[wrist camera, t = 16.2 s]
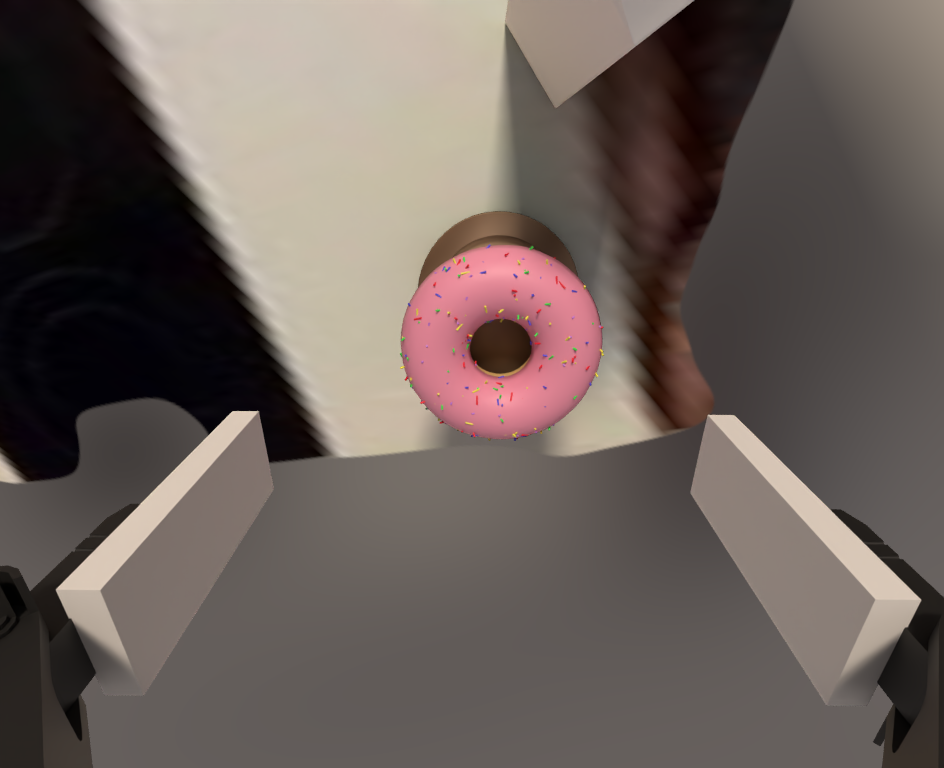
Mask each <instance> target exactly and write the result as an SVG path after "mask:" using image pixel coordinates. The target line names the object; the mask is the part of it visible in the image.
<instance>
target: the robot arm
mask: <svg viewBox="0 0 944 768" xmlns="http://www.w3.org/2000/svg"><path fill="white" fill-rule="evenodd" d="M273 489H274V488H273V482H272V478H271V472H270V467H269V462H268V457H267V452H266V446H265V441H264V436H263V431H262V426H261V421H260V416H259V411H232V412H231V413H230V414H229V415H228V416H227V417H226V418H225V419H224V420H223V422H222V423H221V424H220V425H219V426H218V427H217V428H216V429H215V430H214V431H213V432H212V433H211V434H210V435H209V436H208V437H207V438H206V439H205V440H204V441H203V442H202V443H201V444H200V445H199V446H198V447H197V448H196V449H195V450H194V451H193V452H192V453H191V454H190V455H189V456H188V457H187V458H186V459H185V460H184V461H183V462H182V463H181V464H180V465H179V466H178V467H177V468H176V469H175V470H174V471H173V472H172V473H171V474H170V475H169V476H168V477H167V478H166V479H165V480H164V481H163V482H162V483H161V484H160V485H159V486H158V487H157V488H156V489H155V490H154V491H153V492H152V493H151V494H150V495H149V496H148V497H147V498H146V499H145V500H144V501H143V502H142V503H141V504H130V505H128V506H126V507H124V508H123V509H121V510H119V511H118V512H116V513H115V514H113V515H111V516H110V517H108V518H107V519H105V520H104V521H103V522H102V523H101V524H100V525H99V526H98V527H97V528H96V529H95V530H94V531H93V532H92V533H91V534H90V537H89V538H86V539H85V540H83V541H82V542H81V543H80V544H79V545H78V546H77V547H76V550H75V552H71V553H70V554H69V555H68V556H67V557H66V558H65V559H64V560H63V561H62V562H60V563H59V564H58V565H57V566H56V567H55V568H54V569H53V570H52V571H51V572H50V573H49V574H48V575H47V576H46V577H45V578H44V579H43V580H42V581H41V582H40V583H38V584H37V585H36V586H35V587H34V588H33V589H32V590H31V591H29V589H28V587H27V585H26V583H25V581H24V579H23V577H22V575H21V573H20V571H19V569H17V568H14V567H11V566H0V768H93V766H92V757H91V748H90V738H89V729H88V720H87V711H86V705H85V703H84V701H83V699H82V697H81V695H80V694H81V693H82V691H83V690H84V689H85V687H86V686H87V685H88V683H89V682H90V681H91V680H92V678H93V677H94V676H96V678H97V680H98V682H99V685H100V687H101V689H102V691H103V693H104V695H122V696H123V695H125V696H126V695H127V696H130V695H131V696H144V695H145V693H146V691H147V690H148V688H149V686H150V685H151V683H152V682H153V680H154V679H155V677H156V675H157V674H158V672H159V671H160V669H161V667H162V666H163V664H164V663H165V661H166V660H167V658H168V656H169V655H170V653H171V651H172V650H173V648H174V647H175V645H176V644H177V642H178V640H179V639H180V637H181V636H182V634H183V632H184V631H185V629H186V628H187V626H188V625H189V623H190V621H191V620H192V618H193V616H194V615H195V613H196V612H197V610H198V609H199V607H200V605H201V604H202V602H203V601H204V599H205V598H206V596H207V594H208V593H209V591H210V590H211V588H212V586H213V585H214V583H215V582H216V580H217V578H218V577H219V575H220V574H221V572H222V571H223V569H224V567H225V566H226V564H227V563H228V561H229V559H230V558H231V556H232V554H233V553H234V551H235V550H236V548H237V547H238V545H239V543H240V542H241V540H242V539H243V537H244V536H245V534H246V532H247V531H248V529H249V528H250V526H251V524H252V523H253V521H254V520H255V518H256V516H257V515H258V513H259V512H260V510H261V509H262V507H263V505H264V504H265V502H266V501H267V499H268V497H269V496H270V494H271V493H272V491H273ZM690 493H691V495H692V496H693V498H694V499H695V501H696V503H697V504H698V506H699V507H700V509H701V510H702V512H703V513H704V515H705V517H706V518H707V520H708V521H709V523H710V524H711V526H712V528H713V529H714V531H715V532H716V533H717V535H718V537H719V538H720V540H721V541H722V543H723V545H724V546H725V548H726V549H727V551H728V552H729V554H730V556H731V557H732V559H733V560H734V562H735V563H736V565H737V566H738V568H739V570H740V571H741V573H742V574H743V576H744V577H745V579H746V581H747V582H748V584H749V585H750V587H751V588H752V590H753V591H754V593H755V594H756V596H757V598H758V599H759V601H760V602H761V604H762V605H763V607H764V608H765V610H766V612H767V613H768V615H769V616H770V618H771V619H772V621H773V623H774V624H775V626H776V627H777V629H778V630H779V632H780V633H781V635H782V637H783V638H784V640H785V641H786V643H787V644H788V646H789V648H790V649H791V650H792V652H793V654H794V655H795V657H796V658H797V660H798V661H799V663H800V665H801V666H802V668H803V669H804V671H805V672H806V674H807V676H808V677H809V678H810V680H811V682H812V683H813V685H814V686H815V688H816V690H817V691H818V693H819V694H820V696H821V697H822V699H823V700H824V702H825V704H826V705H830V706H834V705H835V706H867V705H868V703H869V701H870V699H871V697H872V696H873V693H874V692H875V690H876V688H877V686H878V684H879V685H880V687H881V688H882V689H883V691H884V692H885V693H886V694H887V696H888V697H889V698H890V700H891V701H892V702H893V706H892V708H891V710H890V711H889V713H888V715H887V717H886V719H885V721H884V722H883V724H882V726H881V728H880V730H879V732H878V733H877V735H876V737H875V739H874V741H873V742H874V743H875V744H877V745H879V746H881V744H882V743H883V741H884V739H885V743H884V753H883V763H882V768H944V597H943V596H941V595H940V594H939V593H938V592H937V591H936V590H935V589H934V588H933V587H932V586H931V585H930V584H929V583H927V582H926V581H925V580H924V579H923V578H922V577H921V576H920V575H919V574H918V573H917V572H916V571H915V570H914V569H912V567H911V566H909V565H908V564H907V563H906V562H905V561H904V560H903V559H899V556H898V554H897V553H895V552H894V551H893V550H892V549H891V548H890V547H889V546H888V545H884V543H883V540H882V539H881V538H879V537H878V536H877V535H876V534H875V533H874V532H873V531H872V530H871V529H870V528H869V527H868V526H867V525H865V524H863V523H862V522H860V521H859V520H857V519H855V518H854V517H852V516H851V515H849V514H847V513H846V512H844V511H842V510H837V509H829V508H828V507H827V506H826V505H825V504H824V503H823V502H822V501H821V500H820V499H819V498H818V497H817V496H815V495H814V493H812V492H811V491H810V490H809V489H808V488H807V487H806V486H805V485H804V484H803V483H802V482H801V481H800V480H799V479H798V478H797V477H796V476H795V475H794V474H793V473H792V472H791V471H790V470H789V469H788V468H787V467H786V466H785V465H784V464H783V463H782V462H781V461H780V460H779V459H778V458H777V457H776V456H775V455H774V454H773V453H772V452H771V451H770V450H769V449H768V448H767V447H766V446H765V445H764V444H763V443H762V442H761V441H760V440H759V439H758V438H757V437H756V436H755V435H753V433H752V432H751V431H750V430H748V428H747V427H746V426H744V424H742V423H741V422H740V420H738V419H737V418H736V417H735V416H734V415H708V416H707V421H706V425H705V430H704V434H703V439H702V443H701V448H700V452H699V457H698V461H697V466H696V470H695V474H694V479H693V483H692V488H691V492H690Z"/></svg>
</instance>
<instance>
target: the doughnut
mask: <svg viewBox="0 0 944 768" xmlns="http://www.w3.org/2000/svg"><path fill="white" fill-rule="evenodd" d="M533 248H534V247H533V246H532V247H531V248H528V247H523V246H515V245H494V246H491V245H490V244H489V245H488V246H485V247H480V248H475V249H472V250H469V251H466V252H463V253H461V254H459V255H457V256H455V257H453V258H451V259H450V260H448V261H446V262H445V263H443V264H441V265H440V266H439V267H437V268H436V269H435V270H434V271H433V272H432V273H431V274H429V276H428V277H427V278H426V279H425V280H424V281H423V282H422V284H421V285H420V286H419V287H418V289H417V290H416V292H415V294H414V295H413V297H412V299H411V301H410V303H408V307H407V310H406V313H405V316H404V320H403V325H402V331H401V350H402V353H400V355H401V356H402V358H403V364H404V366H402V367H400V368H401V369H402V368H405V371H406V374H407V377H406V379H405V380H407V379H409V382H410V385H411V386H410V387H412V389H414V391H415V392H416V394H417V395H418V396H419V398H420V399H421V402H420V403H421V404H422V403H423V404H425V405H426V407H427V408H426V410H427V409H429V410H430V411H431V412H432V413H433V414H434V415H436V416H437V417H438V418H439V419H438V421H439V420H442V422H440V424H441V423H444V422H445V424H448V425H449V426H451V427H453V428H455V429H457V431H461V432H464V433H467V434H470V435H471V437H473V436H474V437H476V436H478V437H484V438H488V440H489V441H490V439H511V438H515V439H514V441H516V439H518V437H526V436H528V435H530V434H533V433H537V432H539V431H540V434H542V430H544V429H546V428H548V427H549V428H548V430H550V427H551V426H552V425H553V426H554V424H555V423H557V422H558V421H560V420H561V419H562V418H563V417H565V416H566V415H567V414H568V413H569V412H570V411H571V410H573V409H574V407H575V406H576V405H577V404H578V403H579V402H580V401H581V400H582V398H583V397H584V395H585V394H586V392H587V390H588V388H589V386H591V382H592V380H593V378H594V376H595V375H596V377H598V375H597V373H596V372H597V369H598V366H599V362H600V357H601V355H602V356H604V354H603V351H602V328H603V327H601V323H600V319H599V314H598V311H597V307H596V305H595V302H594V300H593V298H592V296H591V294H590V293H589V291H588V289H587V288H586V286H585V285H584V284H583V283H582V281H581V280H580V279H579V278H578V277H577V276H576V275H575V274H574V273H573V272H572V271H571V270H570V269H569V268H568V267H567V266H565V265H564V264H563V263H561V262H560V261H558V260H556V259H555V258H556V257H554V258H553V257H551V256H549V255H547V254H544V253H542V252H540V251H537V250H535V249H533ZM494 319H501V320H500V322H502V321H503V320H504V319H508V320H512V321H514V322H516V323H518V324H520V325H521V326H522V327H523V328H524V329H525V330H526V331H527V333H528V335H529V337H530V345H532V349H531V354H530V357H529V358H528V360H527V361H526V362H525V363H524V364H523V365H522V366H521V367H520V368H518V369H516V370H514V371H512V372H509V373H502V374H497V373H491V372H488V371H485V370H484V369H482V368H480V367H479V366H478V365H477V361H475V362H474V361H473V359H472V356H471V352H470V344H471V340H472V337H473V335H474V333H475V332H476V331H477V329H478V328H479V327H480V326H482V325H483V324H484V323H490V322H491V321H493V320H494Z"/></svg>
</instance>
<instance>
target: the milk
mask: <svg viewBox="0 0 944 768" xmlns="http://www.w3.org/2000/svg"><path fill="white" fill-rule="evenodd" d="M693 1H694V0H508V5H507V12H506V18H505V23H506V25H507V27H508V28H509V30H510V32H511V33H512V35H513V37H514V39H515V40H516V42H517V44H518V46H519V47H520V49H521V51H522V52H523V54H524V56H525V58H526V59H527V61H528V63H529V64H530V66H531V68H532V70H533V71H534V73H535V75H536V76H537V78H538V80H539V82H540V83H541V85H542V87H543V89H544V90H545V92H546V94H547V95H548V97H549V99H550V101H551V102H552V104H553V106H554V107H555V108H557V107H559V106H560V105H561V104H562V103H564V102H565V101H566V100H568V99H569V98H570V97H571V96H573V95H574V94H575V93H577V92H578V91H579V90H580V89H582V88H583V87H584V86H586V85H587V84H588V83H589V82H591V81H592V80H593V79H595V78H596V77H597V76H598V75H600V74H601V73H602V72H604V71H605V70H606V69H607V68H609V67H610V66H611V65H613V64H614V63H615V62H616V61H618V60H619V59H620V58H622V57H623V56H624V55H625V54H627V53H628V52H629V51H631V50H632V49H633V48H634V47H636V46H637V45H638V44H640V43H641V42H642V41H643V40H645V39H646V38H647V37H648V36H650V35H651V34H652V33H653V32H655V31H656V30H657V29H658V28H660V27H661V26H662V25H664V24H665V23H666V22H667V21H669V20H670V19H671V18H672V17H674V16H675V15H676V14H677V13H679V12H680V11H681V10H683V9H684V8H685V7H686V6H688V5H689V4H690V3H691V2H693Z"/></svg>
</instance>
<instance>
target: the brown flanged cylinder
mask: <svg viewBox="0 0 944 768" xmlns="http://www.w3.org/2000/svg"><path fill="white" fill-rule="evenodd" d="M489 244H490V245H491V246H494V245H515V246H523V247H528V248H531V247H532V246H533V247H534V248H533V249H535V250H537V251H540V252H542V253H544V254H547V255H549V256H551V257H553V258H554V257H556V258H555V259H556V260H558V261H560V262H561V263H563V264H564V265H565V266H567V267H568V268H569V269H570V270H571V271H572V272H573V273H574V274H575V275H576V276H577V277H578V275H577V271H576V268H575V264H574V262H573V260H572V257H571V255H570V253H569V252H568V250H567V249H566V247H565V246H564V244H563V243H562V242H561V241H560V239H559V238H558V237H557V236H556V235H555V234H554V233H553V232H552V231H550V230H549V229H548V228H547V227H546V226H544V225H543V224H541V223H540V222H538V221H536V220H534V219H532V218H530V217H528V216H524V215H521V214H518V213H512V212H501V211H494V212H486V213H481V214H478V215H474V216H471V217H469V218H467V219H464V220H462V221H461V222H459V223H457V224H455V225H454V226H453V227H451V228H450V229H449V230H448V231H446V232H445V233H444V234H443V235H442V236H441V237H440V238H439V239H438V241H437V242H436V243H435V245H434V246H433V247H432V249H431V251H430V252H429V254H428V256H427V258H426V260H425V262H424V265H423V267H422V270H421V274H420V278H419V284H418V287H419V286H420V285H421V284H422V282H423V281H424V280H425V279H426V278H427V277H428V276H429V274H431V273H432V272H433V271H434V270H435V269H436V268H437V267H439V266H440V265H441V264H443V263H445V262H446V261H448V260H450V259H451V258H453V257H455V256H457V255H459V254H461V253H463V252H466V251H469V250H472V249H475V248H480V247H485V246H488V245H489ZM500 320H501V319H494V320H493V321H491V322H490V323H484V324H483V325H482V326H480V327H479V328H478V329H477V331H476V332H475V333H474V335H473V337H472V340H471V344H470V352H471V356H472V359H473V361H474V362H475V361H477V365H478V366H479V367H480V368H482V369H484V370H485V371H488V372H491V373H497V374H502V373H509V372H512V371H514V370H516V369H518V368H520V367H521V366H522V365H523V364H524V363H525V362H526V361H527V360H528V358H529V357H530V354H531V349H532V345H530V337H529V335H528V333H527V331H526V330H525V329H524V328H523V327H522V326H521V325H520V324H518V323H516V322H514V321H512V320H508V319H504V320H503V321H502V322H500Z"/></svg>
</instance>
